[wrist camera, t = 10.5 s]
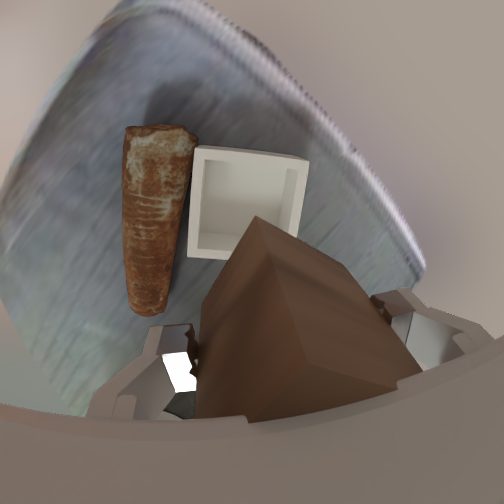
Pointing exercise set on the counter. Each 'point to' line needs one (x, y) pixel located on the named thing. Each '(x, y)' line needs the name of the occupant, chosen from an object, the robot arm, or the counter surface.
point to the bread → (153, 209)
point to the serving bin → (241, 196)
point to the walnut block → (291, 334)
